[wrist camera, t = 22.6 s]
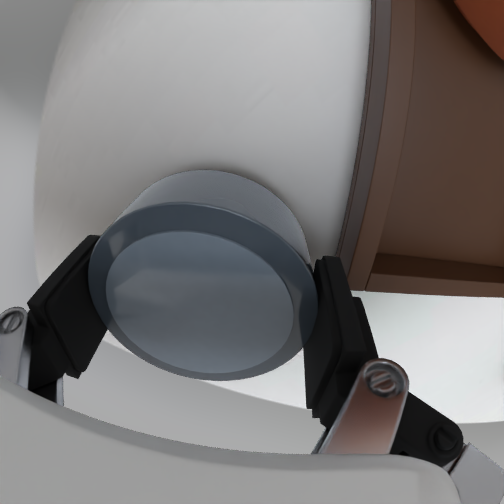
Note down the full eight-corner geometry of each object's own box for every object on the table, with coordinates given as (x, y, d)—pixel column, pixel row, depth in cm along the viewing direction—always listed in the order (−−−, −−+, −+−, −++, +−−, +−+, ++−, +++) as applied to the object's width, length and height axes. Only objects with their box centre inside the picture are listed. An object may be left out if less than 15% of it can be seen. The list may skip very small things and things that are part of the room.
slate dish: (145, 304, 13) (118, 368, 10) (121, 160, 10) (60, 202, 6) (292, 316, 13) (297, 388, 10) (316, 166, 10) (343, 214, 6)
